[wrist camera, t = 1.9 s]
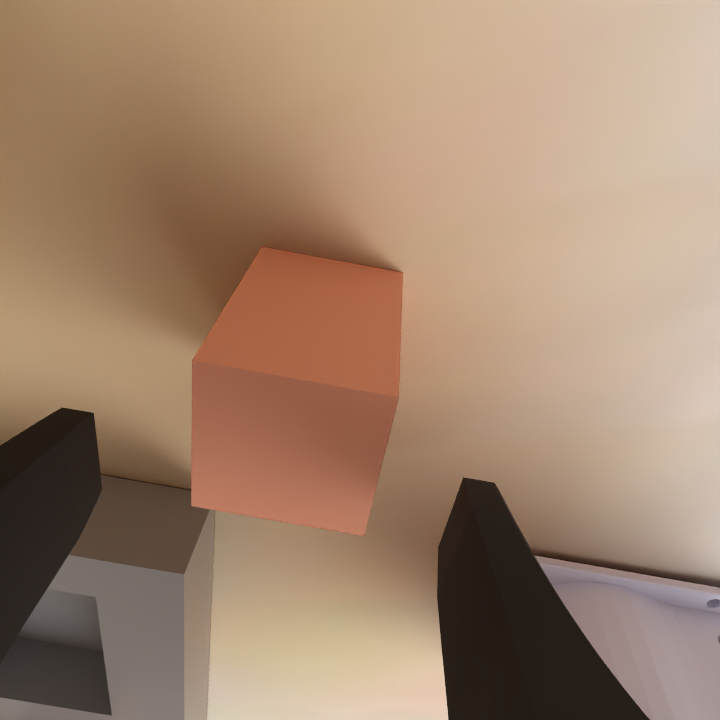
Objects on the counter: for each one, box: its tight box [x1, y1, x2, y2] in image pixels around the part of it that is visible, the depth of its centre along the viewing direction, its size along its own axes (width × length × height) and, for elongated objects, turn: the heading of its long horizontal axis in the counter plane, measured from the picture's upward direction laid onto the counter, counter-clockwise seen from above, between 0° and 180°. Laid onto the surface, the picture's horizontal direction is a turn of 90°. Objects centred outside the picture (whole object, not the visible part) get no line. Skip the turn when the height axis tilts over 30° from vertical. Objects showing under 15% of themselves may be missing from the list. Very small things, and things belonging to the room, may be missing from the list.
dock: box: [0, 475, 215, 720], centre depth 24 cm, size 12×22×7 cm, turn 171°
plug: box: [191, 247, 403, 536], centre depth 15 cm, size 4×4×6 cm
